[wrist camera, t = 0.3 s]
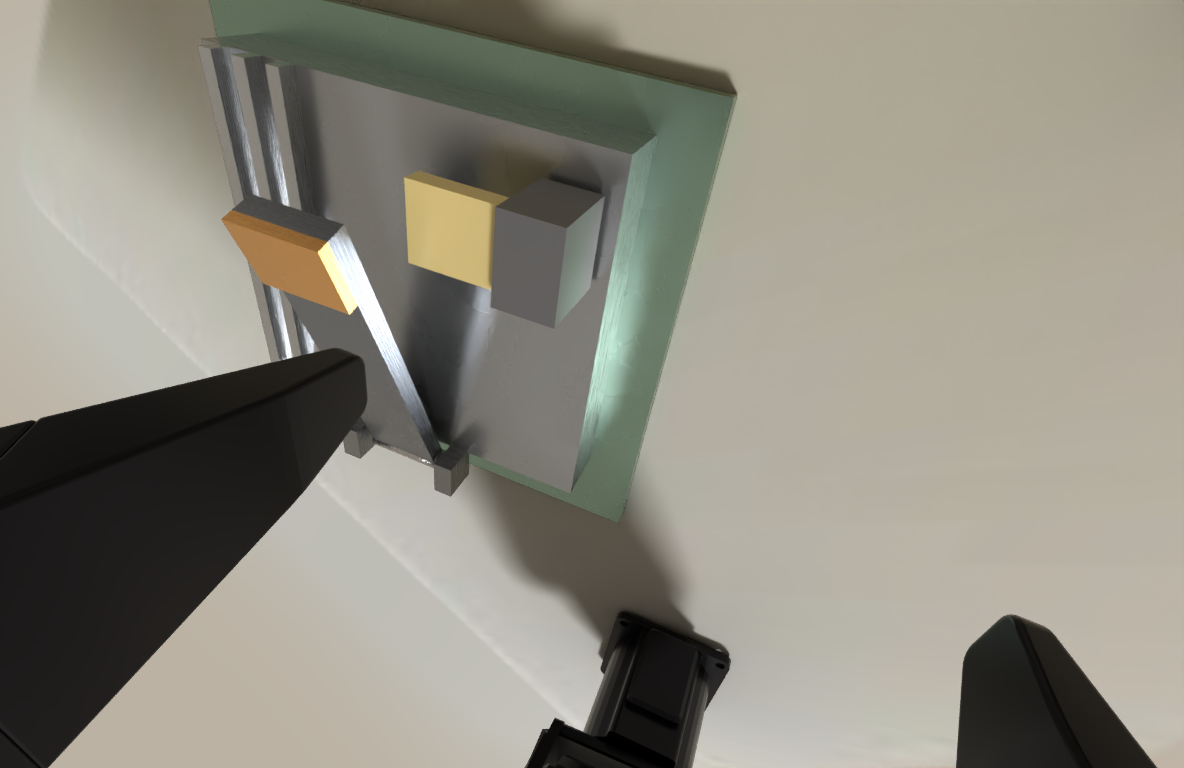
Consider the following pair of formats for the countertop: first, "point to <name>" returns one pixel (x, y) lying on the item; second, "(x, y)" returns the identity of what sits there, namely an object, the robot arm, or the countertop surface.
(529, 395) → the heatsink
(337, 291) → the grey and orange bar
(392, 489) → the countertop surface
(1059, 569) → the countertop surface
